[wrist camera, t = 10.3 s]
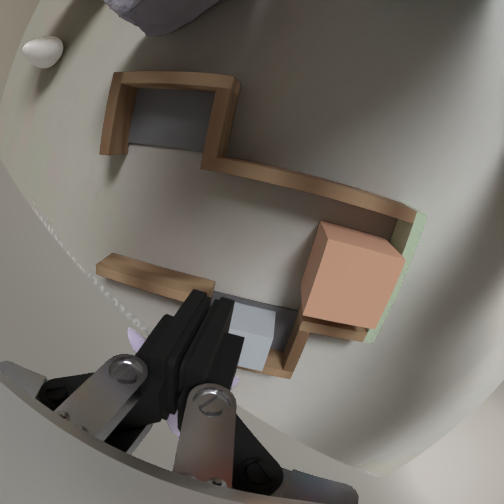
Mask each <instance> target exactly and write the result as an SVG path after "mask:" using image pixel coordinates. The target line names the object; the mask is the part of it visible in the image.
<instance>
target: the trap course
mask: <svg viewBox="0 0 504 504" xmlns="http://www.w3.org/2000/svg"><path fill="white" fill-rule="evenodd" d="M240 87H241V84H240V83H239V82H238V81H237V79H236V78H235V77H234V76H231V75H222V74H212V73H199V72H182V71H129V72H114V74H113V79H112V83H111V87H110V92H109V97H108V102H107V107H106V112H105V118H104V124H103V131H102V138H101V145H100V155H117V154H126V153H128V146H129V143H128V138H129V132H130V126H131V120H132V115H133V109H134V104H135V99H136V95H137V90H138V88H149V89H174V90H189V91H200V92H210V93H215V98H214V102H213V107H212V111H211V116H210V121H209V126H208V131H207V136H206V141H205V146H204V151H203V157H202V162H201V168H200V169H204V170H209V171H215V172H220V173H225V174H230V175H235V176H240V177H244V178H249V179H254V180H258V181H263V182H267V183H272V184H276V185H280V186H284V187H288V188H292V189H296V190H300V191H304V192H308V193H312V194H316V195H320V196H323V197H327V198H331V199H334V200H338V201H342V202H345V203H349V204H352V205H355V206H359V207H362V208H365V209H369V210H372V211H375V212H378V213H382V214H385V215H388V216H391V217H394V218H397V219H400V220H403V221H406V222H409V223H412V224H413V223H414V220H415V217H416V213H417V211H416V210H414V209H412V208H410V207H408V206H407V205H405V204H403V203H400V202H397V201H394V200H392V199H389V198H386V197H383V196H380V195H377V194H373V193H370V192H367V191H364V190H361V189H358V188H354V187H351V186H348V185H344V184H341V183H337V182H334V181H330V180H327V179H323V178H319V177H316V176H312V175H308V174H304V173H300V172H296V171H292V170H288V169H284V168H279V167H275V166H271V165H266V164H262V163H257V162H252V161H248V160H243V159H238V158H232V157H227V156H226V152H227V147H228V142H229V138H230V133H231V128H232V123H233V119H234V114H235V110H236V105H237V101H238V96H239V92H240ZM96 274H98V275H100V276H103V277H106V278H109V279H112V280H115V281H118V282H121V283H124V284H127V285H130V286H133V287H136V288H139V289H143V290H146V291H149V292H152V293H155V294H159V295H162V296H165V297H169V298H172V299H176V300H179V301H182V302H184V301H185V300H186V298H187V297H188V296H189V294H190V293H191V291H192V290H193V289H196V290H200V291H203V292H207V296H208V297H211V302H212V296H213V291H214V286H215V281H212V280H208V279H204V278H200V277H196V276H192V275H189V274H185V273H181V272H177V271H174V270H170V269H166V268H163V267H159V266H156V265H152V264H149V263H145V262H141V261H138V260H135V259H131V258H128V257H124V256H121V255H117V254H114V253H112V254H110V255H109V256H107V257H106V258H105V259H103V260H102V261H100V262H99V263H97V264H96ZM210 307H211V306H210ZM310 332H311V333H316V334H321V335H326V336H331V337H337V338H342V339H348V340H354V341H360V342H363V341H364V339H365V337H366V335H367V331H366V328H364V327H359V326H353V325H348V324H343V323H338V322H333V321H328V320H323V319H318V318H313V317H309V316H304V315H303V314H302V302H301V304H300V307H299V310H298V314H297V317H296V320H295V323H294V325H293V328H292V331H291V334H290V336H289V339H288V342H287V345H286V347H285V350H284V351H279V350H275V349H270V350H269V353H268V356H267V359H266V362H265V365H264V367H263V370H262V371H258V370H253V369H249V368H244V367H240V366H237V368H240V369H244V370H248V371H253V372H257V373H262V374H267V375H272V376H277V377H282V378H287V379H290V378H291V376H292V374H293V372H294V369H295V367H296V365H297V362H298V360H299V358H300V356H301V353H302V351H303V349H304V346H305V344H306V341H307V339H308V337H309V334H310Z"/></svg>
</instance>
